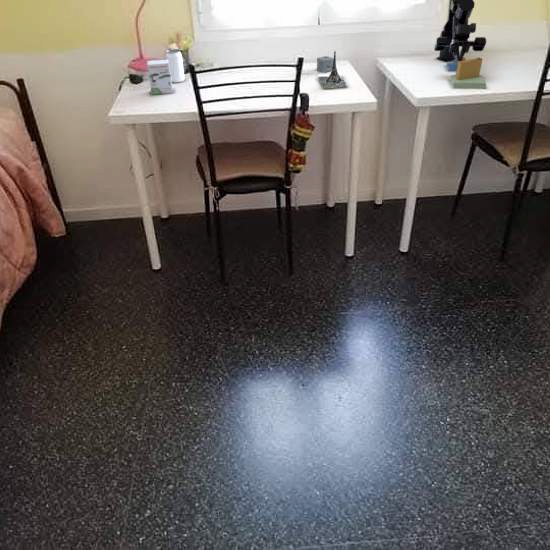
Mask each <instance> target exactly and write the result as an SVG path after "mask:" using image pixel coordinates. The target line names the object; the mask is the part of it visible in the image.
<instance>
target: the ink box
mask: <svg viewBox="0 0 550 550" xmlns="http://www.w3.org/2000/svg"><path fill="white" fill-rule="evenodd" d="M146 66H147V72H148V79H149V85H150V92H151V95H154V96H155V95H162V94H163V95H164V94H173V93H174V90H173V82H172V81H171V74H170V67H169V61H168V60H166V59H155V60H154V59H153V60H147V61H146Z"/></svg>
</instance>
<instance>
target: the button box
mask: <svg viewBox="0 0 550 550" xmlns="http://www.w3.org/2000/svg"><path fill="white" fill-rule="evenodd" d="M445 66H446V69H447V71H448V72H457V66H458V64H457V62H456V60H452V61H451V62H446V64H445Z"/></svg>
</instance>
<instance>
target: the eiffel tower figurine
mask: <svg viewBox="0 0 550 550" xmlns="http://www.w3.org/2000/svg"><path fill="white" fill-rule="evenodd" d="M336 53H337V51H336V50H334V51H333V58H334V60H333V68H332V71H330V74H329V76H318V77H317V78H318V80H319V82H320V83H321V86H322V88H323V89H335V88H336V89H337V88H344V87H348V84H347V83H346V81H345V80H344V78H343V77H342V76H340V75H339V72H338V69H337V58H336V57H337V55H336Z"/></svg>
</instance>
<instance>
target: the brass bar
mask: <svg viewBox="0 0 550 550" xmlns="http://www.w3.org/2000/svg"><path fill="white" fill-rule="evenodd" d="M482 65H483V58H481V57H476V58H472V59H465V60H464V61H458V66H457V71H455V75H456V79H458V80H460V79H466V78H471V77H477V76H479V75H481V69H482Z"/></svg>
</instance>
